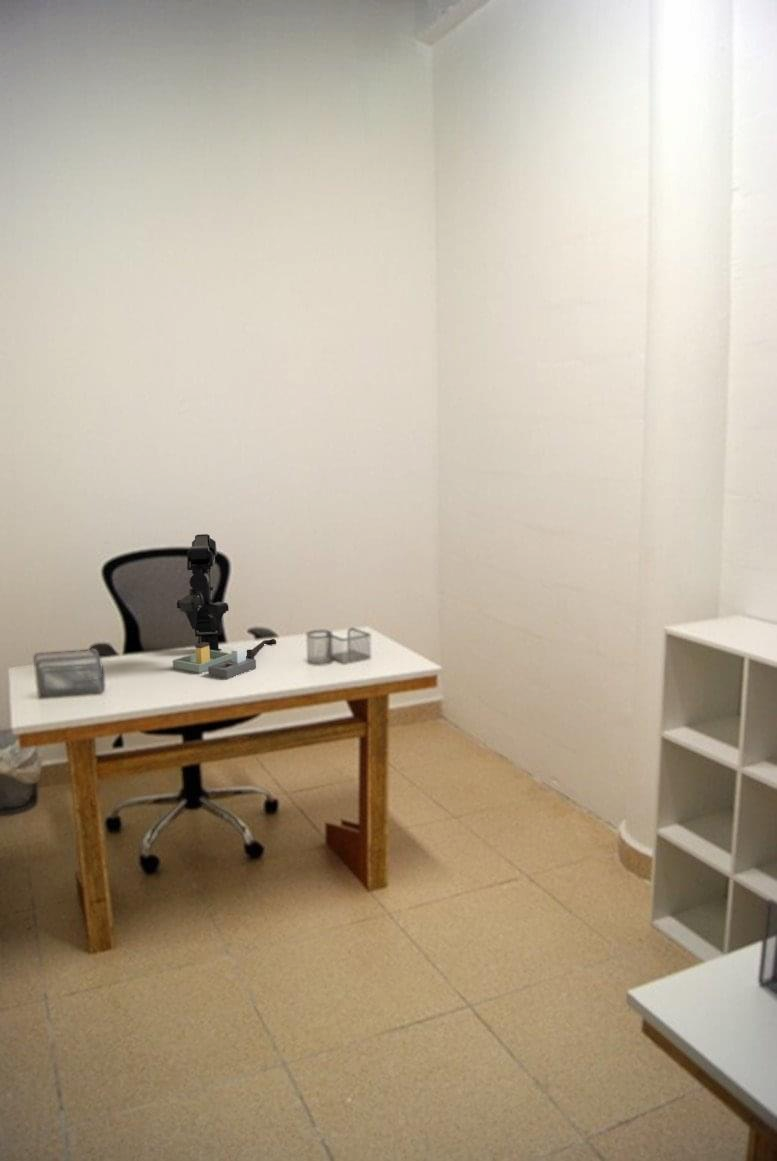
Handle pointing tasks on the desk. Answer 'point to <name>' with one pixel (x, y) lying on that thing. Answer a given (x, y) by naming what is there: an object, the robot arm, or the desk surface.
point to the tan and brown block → (202, 652)
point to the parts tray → (190, 664)
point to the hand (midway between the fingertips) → (203, 630)
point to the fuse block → (231, 668)
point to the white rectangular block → (238, 655)
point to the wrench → (258, 648)
